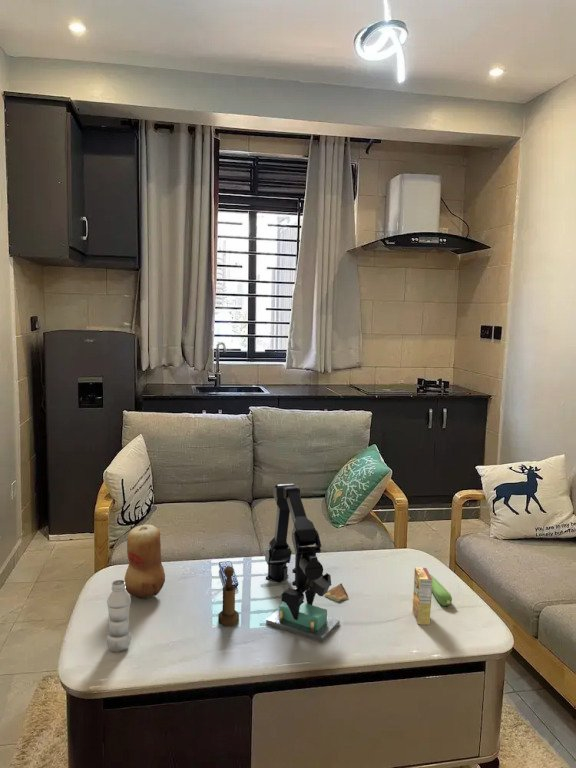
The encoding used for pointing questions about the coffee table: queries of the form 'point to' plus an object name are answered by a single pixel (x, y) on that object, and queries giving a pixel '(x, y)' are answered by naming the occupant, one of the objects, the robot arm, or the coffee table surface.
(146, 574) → the butternut squash
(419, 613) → the candy box
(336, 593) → the shard
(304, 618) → the green rectangular block
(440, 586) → the green cucumber
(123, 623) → the plastic bottle
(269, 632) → the coffee table surface
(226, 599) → the brown wooden tall piece
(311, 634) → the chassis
